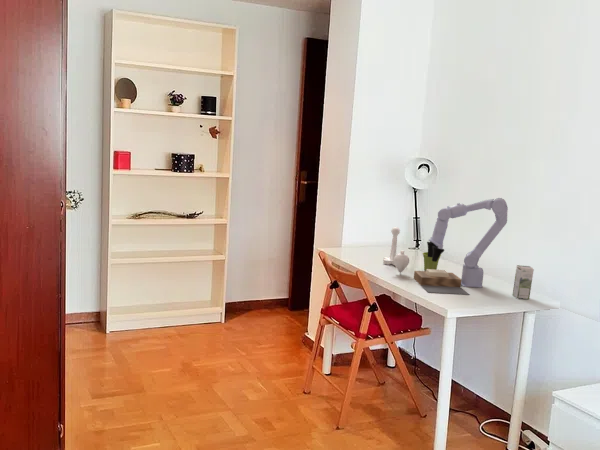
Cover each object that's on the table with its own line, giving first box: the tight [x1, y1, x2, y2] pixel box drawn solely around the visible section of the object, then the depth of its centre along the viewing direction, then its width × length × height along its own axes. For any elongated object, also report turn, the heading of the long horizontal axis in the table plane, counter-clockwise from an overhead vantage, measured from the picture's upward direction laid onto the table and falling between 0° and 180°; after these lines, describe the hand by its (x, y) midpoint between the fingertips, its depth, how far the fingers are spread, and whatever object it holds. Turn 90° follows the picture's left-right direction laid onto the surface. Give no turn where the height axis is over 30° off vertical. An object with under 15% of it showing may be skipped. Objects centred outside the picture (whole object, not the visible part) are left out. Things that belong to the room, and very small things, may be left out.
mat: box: [420, 285, 470, 296], centre depth 285 cm, size 19×12×1 cm, turn 95°
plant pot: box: [422, 251, 442, 271], centre depth 323 cm, size 9×9×9 cm
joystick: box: [382, 226, 401, 267], centre depth 330 cm, size 11×8×20 cm
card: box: [425, 269, 449, 277], centre depth 296 cm, size 9×6×2 cm, turn 95°
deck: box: [413, 270, 462, 288], centre depth 297 cm, size 19×13×4 cm
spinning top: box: [394, 250, 410, 275], centre depth 308 cm, size 8×8×12 cm
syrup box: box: [512, 264, 535, 300], centre depth 281 cm, size 6×6×14 cm
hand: (431, 259), depth 302 cm, fingers open, 7 cm apart
